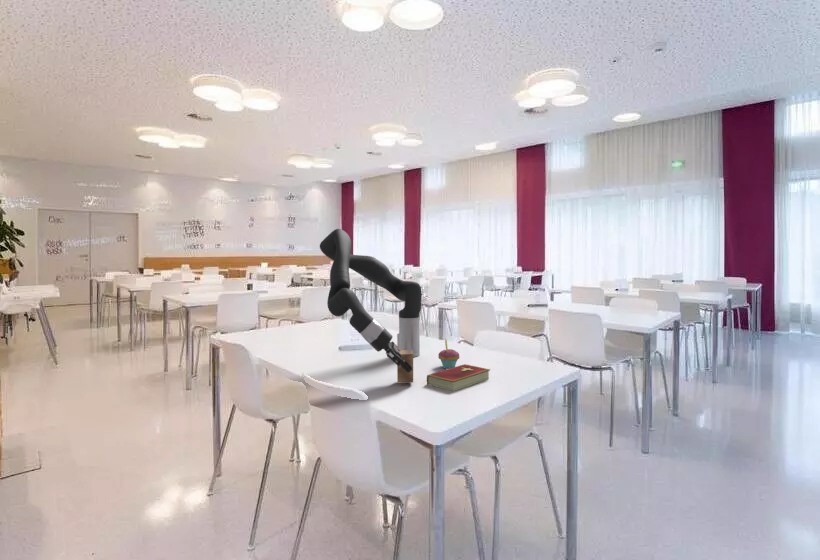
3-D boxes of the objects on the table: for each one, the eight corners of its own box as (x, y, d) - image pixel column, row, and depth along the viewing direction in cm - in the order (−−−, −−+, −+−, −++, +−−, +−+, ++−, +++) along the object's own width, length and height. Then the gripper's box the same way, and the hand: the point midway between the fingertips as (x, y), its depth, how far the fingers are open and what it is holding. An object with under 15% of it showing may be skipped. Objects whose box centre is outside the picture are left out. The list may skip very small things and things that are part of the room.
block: (397, 382, 157) (397, 354, 156) (397, 377, 163) (397, 350, 162) (413, 382, 158) (413, 354, 156) (412, 377, 163) (412, 350, 162)
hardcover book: (426, 385, 159) (426, 373, 159) (464, 374, 174) (464, 363, 174) (453, 393, 151) (453, 380, 150) (490, 380, 165) (490, 368, 165)
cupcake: (450, 370, 177) (450, 340, 176) (433, 367, 183) (433, 337, 182) (463, 366, 183) (463, 337, 182) (447, 363, 189) (446, 334, 188)
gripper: (369, 337, 166) (402, 369, 167) (367, 347, 151) (403, 382, 153) (384, 323, 165) (417, 355, 167) (382, 331, 151) (418, 366, 152)
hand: (410, 367), depth 160 cm, fingers closed on block, 5 cm apart
